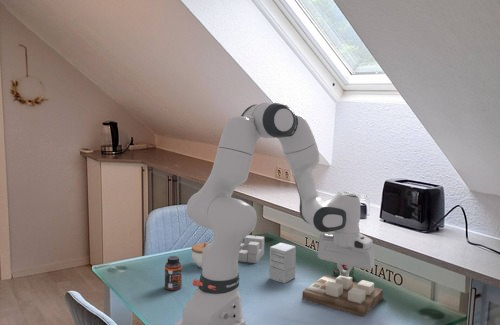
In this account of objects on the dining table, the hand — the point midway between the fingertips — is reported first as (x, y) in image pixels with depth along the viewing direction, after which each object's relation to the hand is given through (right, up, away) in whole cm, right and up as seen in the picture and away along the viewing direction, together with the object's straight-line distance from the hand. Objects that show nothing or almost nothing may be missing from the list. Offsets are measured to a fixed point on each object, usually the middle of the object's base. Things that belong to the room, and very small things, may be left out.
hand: (344, 275), depth 172 cm
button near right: (+2, -6, -11) cm, 12 cm away
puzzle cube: (-35, -1, +36) cm, 50 cm away
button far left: (0, -4, 0) cm, 4 cm away
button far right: (+6, -5, -4) cm, 9 cm away
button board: (-1, -7, -3) cm, 8 cm away
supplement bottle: (-61, -5, +3) cm, 61 cm away
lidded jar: (-51, -2, +25) cm, 57 cm away
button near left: (-5, -5, -6) cm, 9 cm away
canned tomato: (+3, -4, +17) cm, 17 cm away
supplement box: (-21, -4, +13) cm, 25 cm away
